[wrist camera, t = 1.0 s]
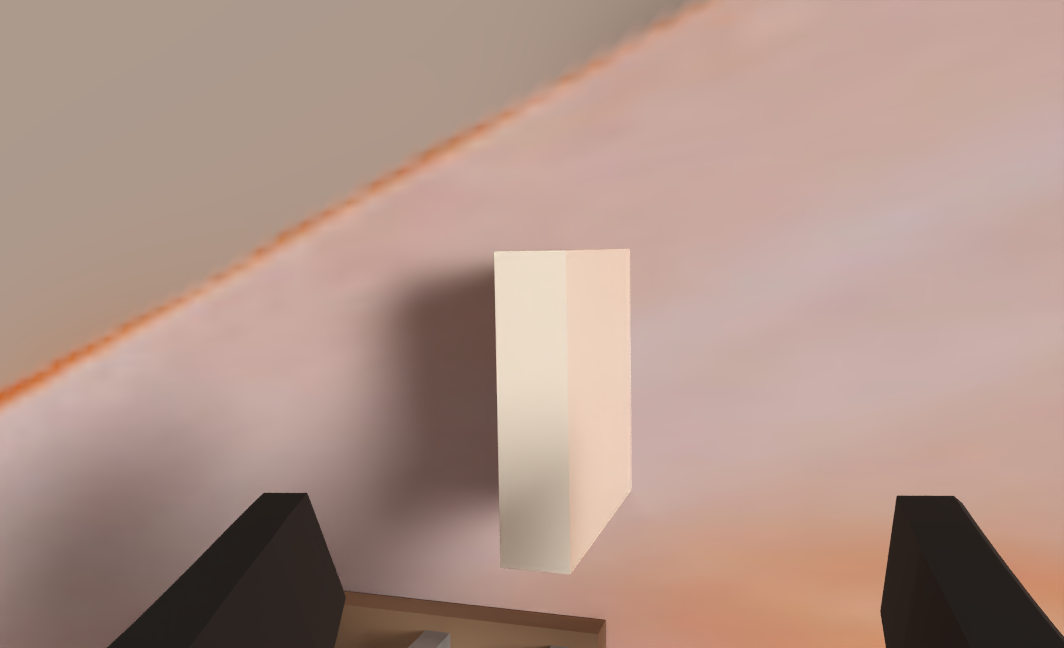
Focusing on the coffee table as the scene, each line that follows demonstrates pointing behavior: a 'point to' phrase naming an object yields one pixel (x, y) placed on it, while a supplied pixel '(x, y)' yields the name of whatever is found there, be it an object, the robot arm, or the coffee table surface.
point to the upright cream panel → (561, 401)
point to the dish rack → (458, 626)
